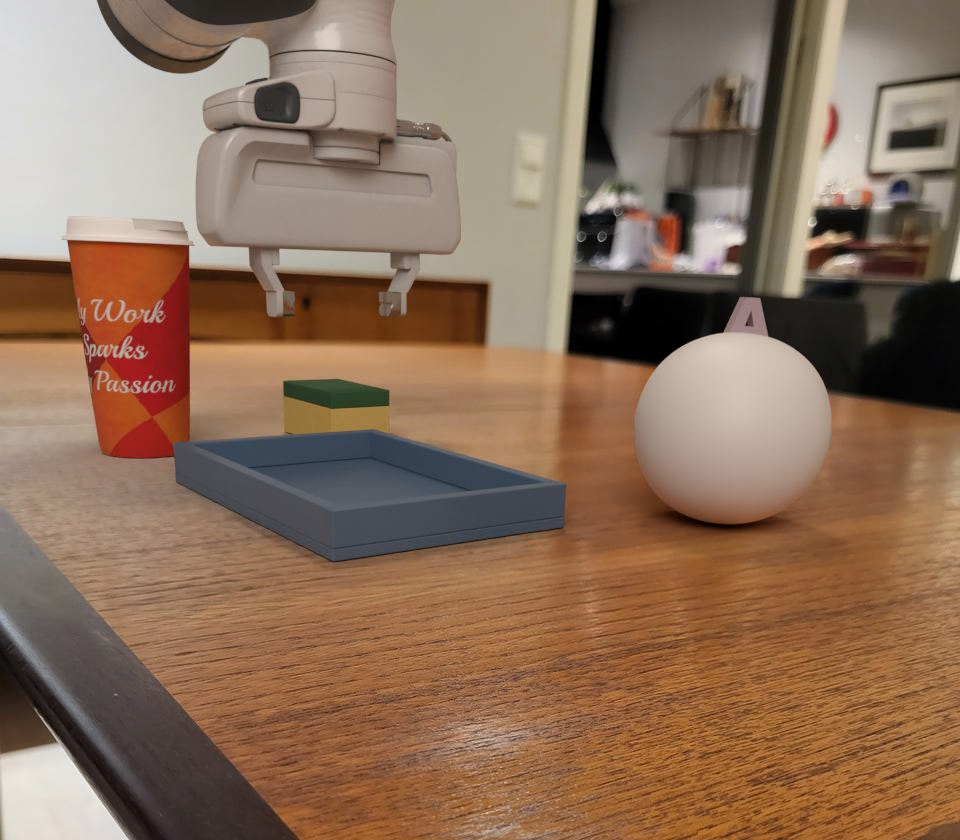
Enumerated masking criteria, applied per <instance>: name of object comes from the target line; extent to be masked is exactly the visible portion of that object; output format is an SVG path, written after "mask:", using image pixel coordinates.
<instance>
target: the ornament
mask: <svg viewBox="0 0 960 840" xmlns="http://www.w3.org/2000/svg"><path fill="white" fill-rule="evenodd" d="M761 300H762V299H761V297H749V296H740V297H739V299H738V301H737V303H736V305H735V306H734V309H733V311H732V313H731V316H730V318H729V320H728V322H727V323H726V326H725V328H724V330H723V332H719V333H714V334H709V335H706V336H702V337H700V338H696V339H693V340H691V341H690V342H687V343H686V344H684V345H682V346H681V347H679V348H677V349H675V350H674V351H673V352H671V353H670V354H669V355H668V356H667V357H665V358H664V359H663V360H662V361H661V362H660V363H659V364H658V365H657V366H656V368H655V369H654V370H653V372H652V373H651V375H650V376H649V378H648V379H647V382H646V383H645V385H644V387H643V388H642V391H641V394H640V397H639V399H638V402H637V406H636V408H635V409H636V410H635V413H634V421H633V445H634V452H635V456H636V461H637V465H638V467H639V469H640V472H641V474H642V476H643V478H644V479H645V481H646V483H647V485H648V487H649V488H650V489H651V490H652V492H653V493H654V494H655V495H656V496H657V498H659V499H660V500H661V501H662V502H663V503H665V505H666V506H668V507H670V508H671V509H672V510H674V511H676V512H678V513H680V514H682V515H684V516H685V517H688V518H691V519H694V520H697V521H701V522H705V523H710V524H717V525H741V524H743V525H744V524H748V523H753V522H754V523H755V522H758V521H761V520H765V519H767V518H770V517H772V516H774V515H777V514H778V513H780V512H781V511H782V512H783V511H784V510H786V509H787V508H788V507H790V506H791V505H793V504H794V503H795V502H796V501H798V499H800V498H801V497H802V496H803V495H804V494H805V493H806V491H807V490H808V489H809V488H810V486H811V485H812V484H813V483H814V481H815V480H816V478H817V476H818V474H819V473H820V472H821V469H822V467H823V465H824V463H825V460H826V457H827V454H828V451H829V448H830V443H831V437H832V431H833V429H832V428H833V419H832V417H833V415H832V407H831V403H830V397H829V394H828V391H827V388H826V385H825V383H824V380H823V379H822V377H821V375H820V374H819V372H818V371H817V369H816V368H815V366H814V365H813V364H812V363H811V362H810V361H809V360H808V359H807V358H806V357H805V356H804V355H803V354H802V353H800V352H799V351H798V350H796V349H795V347H792V346H791V345H789V344H787V343H785V342H783V341H781V340H779V339H777V338H774V337H771V336H769V333H768V329H767V324H766V319H765V315H764V310H763V305H762V301H761ZM746 324H747V325H746Z"/></svg>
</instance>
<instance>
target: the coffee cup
mask: <svg viewBox="0 0 960 840" xmlns="http://www.w3.org/2000/svg"><path fill="white" fill-rule="evenodd" d="M188 232H189V231H188V230H186V227H185V225H184V221H178V220H168V219H166V220H165V219H154V218H153V219H151V218H135V217H115V216H113V217H111V216H109V217H108V216H86V215H84V216H82V215H81V216H80V215H79V216H78V215H71V216H70V215H69V216H68V217H67V220H66V234H64V235H62V236H61V241H67V242H66V243H67V248H68V255H69V263H70V268H71V275H72V281H73V287H74V294H75V301H76V307H77V314H78V320H79V327H80V334H81V341H82V346H83V353H84V360H85V366H86V372H87V379H88V385H89V391H90V398H91V403H92V410H93V414H94V422H95V423H94V424H95V428H96V434H97V439H98V444H99V449H100V452H101V453H102V454H104V455H107V456H112V457H116V458H117V457H118V458H132V459H148V458H150V459H151V458H165V457H174V447H173V443H175V442H188V441H191V440H190V438H191V437H190V435H191V323H190V322H191V316H190V315H191V312H190V311H191V310H190V309H191V307H190V293H191V292H190V247H194V246H195V244H194V242H193V241H192V240H190V238H189V233H188Z"/></svg>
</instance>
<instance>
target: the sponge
mask: <svg viewBox="0 0 960 840" xmlns="http://www.w3.org/2000/svg"><path fill="white" fill-rule="evenodd" d="M282 389H283V390H282V391H283V398H282V399H283V427H284V428H283V429H284V432H285V433H288V434H290V435H293V434H308V433H323V432H338V431H353V430H368V429H375V430H378V431H382V432H386V433H389V434H390V390H389V389H386V388H381V387H376V386H372V385H368V384H363V383H359V382H354V381H351V380H350V381H349V380H346V379H341V378H324V379H323V378H321V379H320V378H319V379H293V380H292V379H291V380H290V379H289V380H288V379H287V380H283V381H282Z"/></svg>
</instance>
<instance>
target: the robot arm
mask: <svg viewBox="0 0 960 840" xmlns="http://www.w3.org/2000/svg"><path fill="white" fill-rule="evenodd" d="M96 2H97V5H98V9H99V11H100V14H101V16H102V18H103V20H104V22H105V24H106V26H107V27H108V29H109V31H110V32H111V33H112V35H113V36H114V38H115V39H116V40H117V42H119V44H120V45H121V46H122V47H123V48H124V49H125V51H127V52H128V53H129V54H130V55H132V56H133V57H134V58H135V59H137V60H138V61H140V62H141V63H142V64H145V65H147V66H149V67H151V68H153V69H156V70H158V71H161V72H164V73H169V74H177V75H183V74H194V73H197V72H201V71H203V70H206V69H208V68H209V67H212V66H213V65H214V64H215V63H217V62H218V61H219V60H220V59H221V58H222V57H223V56H224V55H225V53H226V52H227V51H228V50H229V49H230V47H231V46H232V45H233V43H235V42H237V41H238V40H240V39H241V38H247V39H255V40H259V41H261V42H262V43H263V44H264V46H266V48H267V53H268V75H269V76H268V77H262V78H256V79H253V80H250V81H247V82H245V84H244V85H239V86H235V87H232V88H227V89H225V90H222V91H219V92H217V93H215V94H211V95H210V96H208V97H207V98H205V99H204V101H203V103H202V109H201V110H202V111H201V112H202V118H203V120H202V121H203V124H204V125H205V127H206V129H208V131H210V132H213V133H212V134H210V135H208V136H207V137H206V138H205V139H204V140H203V141H202V142H201V145H200V147H199V149H198V153H197V159H196V170H195V190H194V191H195V192H194V193H195V196H194V197H195V199H194V200H195V222H196V227H197V231H198V232H199V234H200V236H201V237H202V238H203V240H204V241H205V243H206V244H207V245H208V246H210V247H219V248H220V247H222V248H223V247H224V248H248V261H249V262H248V263H249V267H250V269H251V271H252V272H253V274H254V275H255V278H256V279H257V281H258V282H259V284H260V286H261V287H262V289H263V291H265V300H266V314H267V315H268V317H270V318H294V317H295V316H296V311H297V310H296V306H295V303H296V292H295V291H289V290H287V291H286V290H285V288H284V287H283V285H282V283H281V280H280V279H279V277H278V275H277V273H276V271H275V269H274V267H273V266H280V264H281V261H280V259H281V258H280V255H281V254H280V250H299V251H300V250H301V251H302V250H304V251H327V252H328V251H329V252H353V253H354V252H357V253H380V254H381V253H383V254H389V258H390V259H389V260H390V262H389V263H390V268H391V270H396V271H395V273H394V275H393V278H392V280H391V282H390V285H389V286H388V289H387V291H379V292H378V302H379V307H378V312H379V315H380V316H381V317H385V318H386V317H391V318H399V317H400V318H404V317H405V316H407V311H408V310H407V309H408V308H407V307H408V306H407V304H408V299H407V298H408V297H407V294H408V293H409V292H410V290H411V289H412V286H413V284H414V282H415V280H416V278H417V276H418V275H419V272H420V269H421V266H420V265H421V255H435V256H436V255H437V256H447V255H448V256H449V255H452V254H453V253H454V252H455V251H456V249H457V248H458V246H459V244H460V243H461V240H462V239H461V238H462V222H461V220H462V219H461V206H460V196H459V188H458V180H457V162H458V161H457V160H458V159H457V156H458V155H457V148H456V144H455V142H453V140H452V138H451V136H449V135H448V134H447V133H446V132H445V131H443V129H442V127H441V126H440V125H438V124H435V123H432V122H423V123H419V122H414V121H411V120H407V119H401V118H400V119H399V118H398V105H397V104H398V93H397V92H398V87H397V85H398V82H397V81H398V80H397V79H398V78H397V77H398V76H397V75H398V73H397V72H398V71H397V70H398V69H397V68H398V67H397V66H398V65H397V63H398V62H397V55H396V52H395V47H394V44H393V39H392V16H393V10H394V7H395V3H396V0H96ZM440 139H443V140H440Z"/></svg>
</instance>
